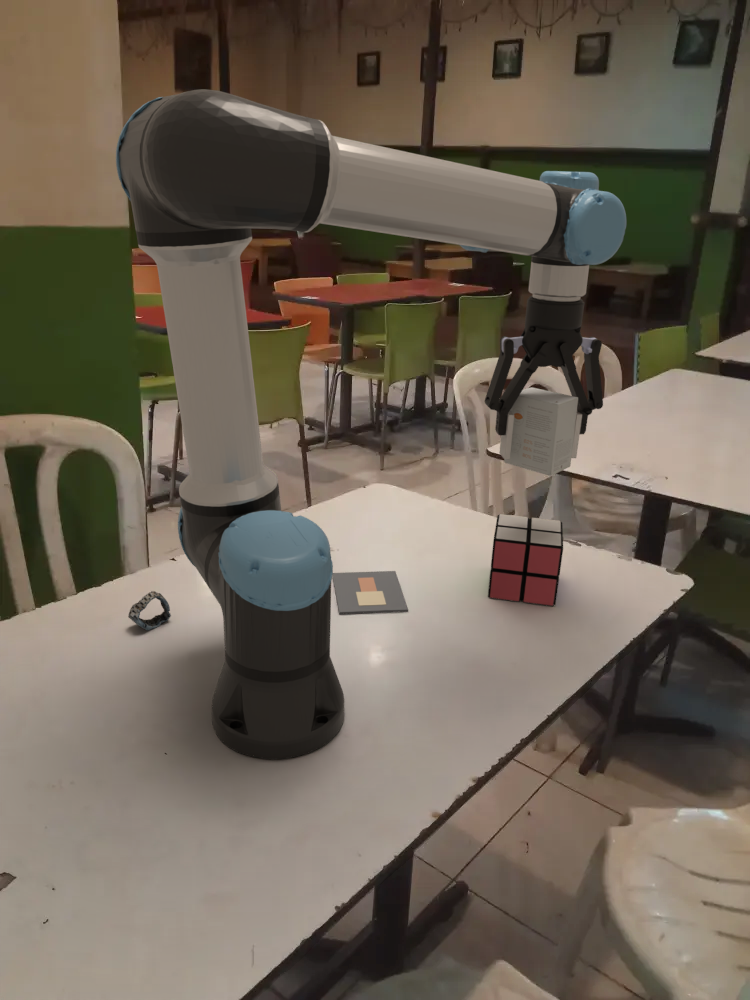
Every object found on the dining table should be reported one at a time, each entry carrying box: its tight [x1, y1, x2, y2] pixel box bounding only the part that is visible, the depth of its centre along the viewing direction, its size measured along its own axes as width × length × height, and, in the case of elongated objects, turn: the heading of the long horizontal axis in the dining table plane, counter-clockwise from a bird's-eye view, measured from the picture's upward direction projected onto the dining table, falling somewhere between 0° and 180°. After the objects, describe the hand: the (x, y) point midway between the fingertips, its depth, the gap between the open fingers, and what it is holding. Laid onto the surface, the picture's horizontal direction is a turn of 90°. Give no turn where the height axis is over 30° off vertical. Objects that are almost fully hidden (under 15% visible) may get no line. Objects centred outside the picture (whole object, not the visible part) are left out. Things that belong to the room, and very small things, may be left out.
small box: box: [503, 387, 578, 477], centre depth 112 cm, size 8×6×10 cm
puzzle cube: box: [487, 513, 564, 607], centre depth 119 cm, size 10×10×10 cm
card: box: [332, 570, 409, 615], centre depth 118 cm, size 10×12×1 cm
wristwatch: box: [128, 590, 172, 631], centre depth 107 cm, size 3×5×5 cm
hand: (537, 455), depth 113 cm, fingers closed on small box, 9 cm apart
